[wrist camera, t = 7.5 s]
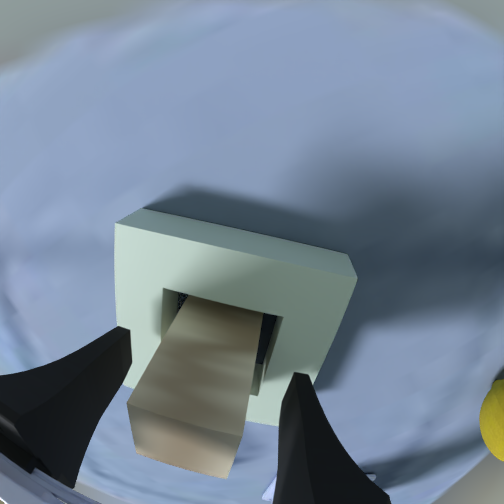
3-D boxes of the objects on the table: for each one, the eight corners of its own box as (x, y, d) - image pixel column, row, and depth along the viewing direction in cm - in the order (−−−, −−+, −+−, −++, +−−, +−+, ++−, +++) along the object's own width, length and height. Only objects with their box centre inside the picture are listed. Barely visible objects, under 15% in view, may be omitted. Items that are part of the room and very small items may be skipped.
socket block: (347, 254, 14) (357, 278, 11) (291, 397, 17) (290, 428, 15) (141, 208, 14) (115, 223, 12) (139, 359, 18) (123, 384, 16)
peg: (265, 300, 15) (242, 436, 8) (251, 353, 16) (226, 478, 9) (195, 283, 15) (126, 403, 8) (189, 337, 17) (136, 453, 9)
